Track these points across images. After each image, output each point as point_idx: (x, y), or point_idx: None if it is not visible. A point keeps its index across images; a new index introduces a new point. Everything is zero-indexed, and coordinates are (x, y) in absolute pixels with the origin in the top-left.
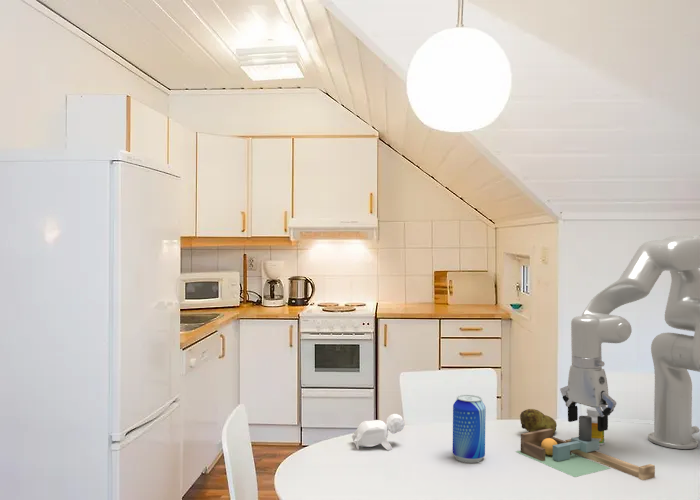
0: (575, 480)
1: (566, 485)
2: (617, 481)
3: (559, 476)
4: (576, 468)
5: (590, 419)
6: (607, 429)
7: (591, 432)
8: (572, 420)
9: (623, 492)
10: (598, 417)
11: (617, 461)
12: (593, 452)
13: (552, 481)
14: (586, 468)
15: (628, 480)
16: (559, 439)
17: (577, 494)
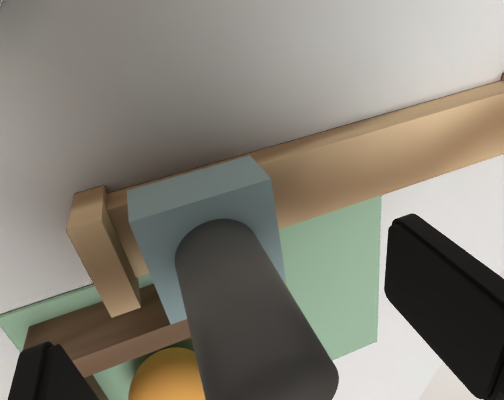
0: (387, 342)
1: (397, 370)
2: (454, 232)
3: (347, 371)
4: (328, 313)
5: (335, 368)
6: (411, 214)
7: (270, 262)
8: (90, 396)
9: (500, 258)
10: (488, 393)
11: (398, 157)
12: None
13: (364, 393)
14: (342, 281)
15: (471, 191)
16: (109, 351)
17: (442, 362)
